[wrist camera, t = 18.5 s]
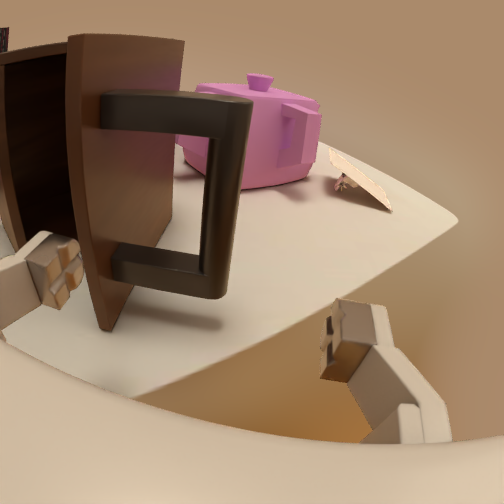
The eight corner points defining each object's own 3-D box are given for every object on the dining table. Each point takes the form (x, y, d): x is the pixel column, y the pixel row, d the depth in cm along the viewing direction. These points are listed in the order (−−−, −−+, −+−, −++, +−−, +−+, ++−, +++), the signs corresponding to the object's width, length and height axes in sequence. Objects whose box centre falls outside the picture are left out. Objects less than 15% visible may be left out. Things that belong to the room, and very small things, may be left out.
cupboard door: (241, 227, 28) (270, 48, 19) (217, 354, 17) (261, 33, 8) (163, 215, 28) (174, 40, 19) (99, 328, 17) (67, 35, 8)
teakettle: (161, 181, 33) (168, 70, 26) (199, 141, 47) (208, 65, 40) (315, 208, 33) (344, 96, 26) (307, 159, 47) (323, 83, 40)
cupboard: (163, 214, 28) (174, 39, 19) (27, 275, 19) (-7, 55, 10) (111, 181, 33) (114, 42, 24) (2, 222, 23) (-18, 62, 14)
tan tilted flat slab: (330, 163, 35) (314, 182, 36) (392, 212, 36) (376, 229, 38) (328, 147, 40) (315, 164, 42) (383, 190, 42) (369, 205, 44)
